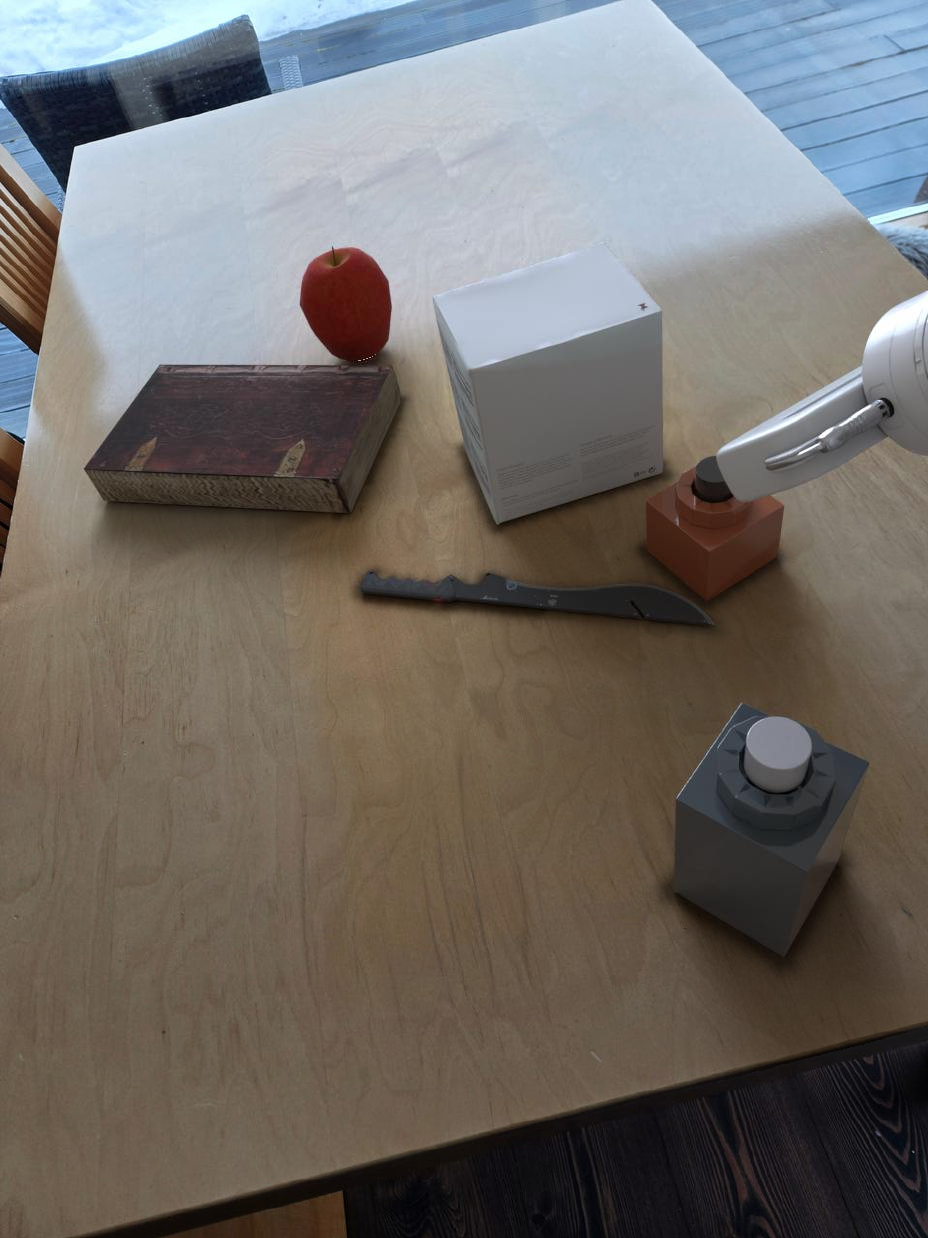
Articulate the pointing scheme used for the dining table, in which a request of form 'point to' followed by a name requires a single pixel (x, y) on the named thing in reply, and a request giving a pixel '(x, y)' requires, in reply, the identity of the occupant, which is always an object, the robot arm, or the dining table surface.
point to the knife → (548, 597)
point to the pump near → (777, 754)
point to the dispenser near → (762, 835)
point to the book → (249, 436)
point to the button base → (711, 535)
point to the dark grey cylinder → (710, 482)
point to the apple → (347, 303)
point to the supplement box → (555, 380)
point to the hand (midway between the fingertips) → (795, 425)
